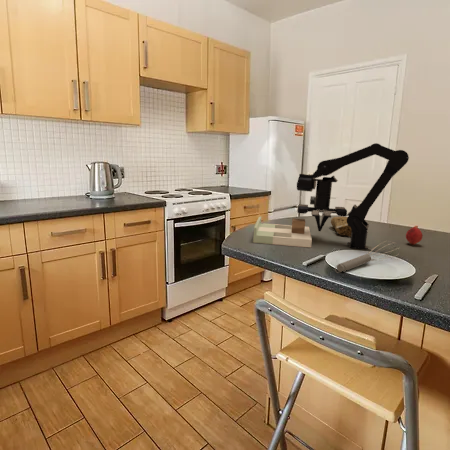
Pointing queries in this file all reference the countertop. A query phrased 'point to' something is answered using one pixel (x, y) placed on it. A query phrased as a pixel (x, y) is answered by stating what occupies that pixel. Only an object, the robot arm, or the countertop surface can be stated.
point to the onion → (414, 235)
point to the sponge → (341, 226)
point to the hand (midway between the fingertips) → (319, 231)
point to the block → (298, 226)
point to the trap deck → (280, 235)
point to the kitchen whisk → (360, 260)
